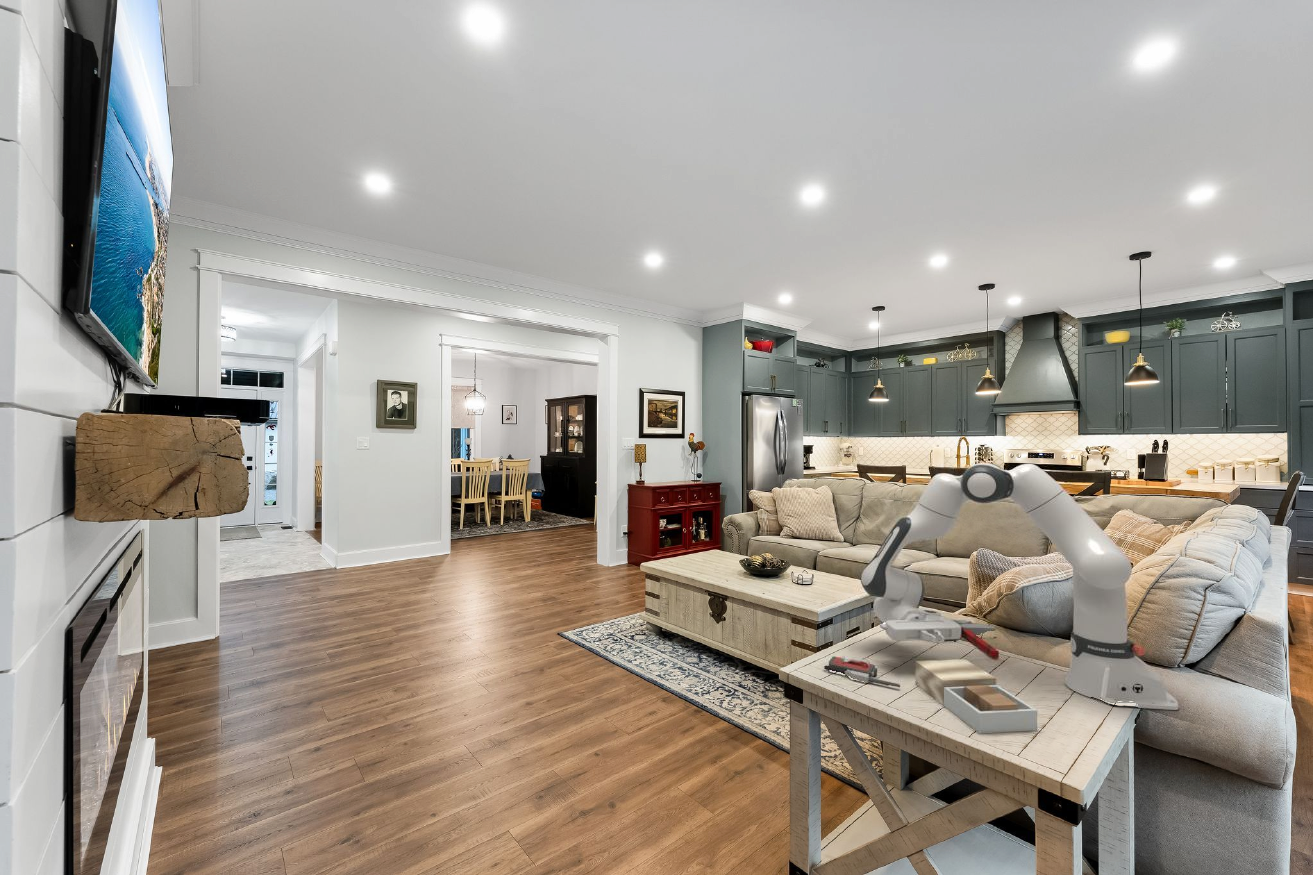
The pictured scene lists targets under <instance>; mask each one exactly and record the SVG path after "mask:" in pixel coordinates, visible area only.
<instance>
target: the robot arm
mask: <svg viewBox="0 0 1313 875" xmlns="http://www.w3.org/2000/svg"><path fill="white" fill-rule="evenodd" d="M1008 498H1009V499H1011V500H1013V501H1014V502H1015V503H1016V504H1017V505H1018V506H1019V507H1020V508H1021V509H1022V511H1023V512H1024V513H1025V514H1026V515H1027V516H1028V517H1029V518H1030V519H1031V521H1032V522H1034V524H1035V525H1036V526H1037V527H1038V528H1039V529H1040V531H1041V532H1042V533H1043V534H1044V535H1045V537H1046V538H1048V539H1049V541H1050V542H1051V543H1052V544H1053V545H1054V547H1055V548H1056V549H1057V550H1058V552H1059V553H1060V554H1061V555H1062V556H1063V558H1064V559H1065V560H1066V561H1067V562H1068V564H1070V566H1071V567H1072V586H1073V588H1072V591H1073V594H1072V595H1073V626H1072V627H1073V628H1072V631H1071V632H1070V633H1071V634H1070V636H1071V637H1070V652H1071V658H1070V666H1069V669H1068V673H1067V676H1066V678H1065V680H1064V683H1065V685H1066V686H1067V688H1069V689H1071V690H1072V691H1075V693H1078V694H1080V695H1083V696H1086V697H1088V698H1091V697H1095V698H1097V699H1102V700H1104V701H1107V702H1110V703H1136V704H1138V708H1139V709H1150V710H1151V709H1152V710H1153V709H1154V710H1170V711H1177V710H1179V708H1180V706H1179V702H1178V701H1177V699H1176V698H1175V697H1174V696H1173V695H1172V694H1171V693H1169V692H1168V691H1167V689H1166V685H1165V682H1164V680H1163V678H1162V676H1161V675H1160V674H1159V673H1158V672H1157V671H1156V670H1154V669H1153V667H1151V666H1150V665H1148V663H1146V662H1144V661H1143V660H1142V659H1140V657H1138V656H1144V654H1145V653H1146V651H1145V649H1144V648H1143V647H1142V646H1140V645H1139V644H1135V643H1134V642H1132V641H1131V640H1129V639H1128V604H1127V596H1126V595H1127V593H1126V592H1127V591H1126V583H1127V582H1129V580H1130V578H1131V576H1132V570H1133V567H1132V563H1131V561H1130V559H1129V558H1128V556H1127V554H1125V553H1124V551H1123V550H1122V549H1121V548H1120V547H1119V546H1118V545H1117V544H1116V543H1115V542H1114V541H1113V540H1112V539H1111V537H1109V536H1108V535H1107V533H1106V532H1104V530H1103V529H1102V528H1101V527H1100V526H1099V525H1098V524H1097V523H1096V521H1094V519H1093V518H1092V517H1091V516H1090V515H1089V514H1088V513H1087V512H1086V511H1085V510H1084V508H1082V507H1081V506H1080V504H1079V503H1077V501H1075V499H1074V498H1073V497H1072V496H1071V495H1070V494H1069V493H1068V492H1067V491H1066V489H1064V487H1062V486H1061V485H1060V483H1058V482H1057V481H1056V480H1055V479H1054V478H1053V477H1052V476H1050V475H1049V474H1048V472H1045V471H1044V470H1043V469H1042V468H1040V467H1039V466H1038V465H1036V464H1033V463H1023V464H1020V465H1017V466H1016V467H1014V468H1012V469H1010V470H1005V469H1003V468H1002V467H1000V466H999V465H997V464H996V463H991V462H978V463H975V464H973V465H971V466H969V467H968V468H966V470H965V471H963V473H961V474H960V475H953V474H951V473H944V472H943V473H936V474H935V475H934V476H933V477H931V479H930V481H929V482H928V483H927V485H926V487H925V488H924V490H923V492H922V493H921V495H920V498H919V499H918V502H917V504H916V506H915V507H914V509H913V510H912V511H911V512H910V513H909V514H908V515H907V516H905V517H901V518H900V519H899V520H898V521H897V522H896V523H895V524H894V526H893V527H892V528H891V530H890V531H889V532H888V534H887V535H886V538H885V539H884V541H883V543H882V544H881V546H880V547H879V549H878V550H877V551H876V553H875V555H874V556H873V557H872V559H871V560H870V561H869V563H867V565H866V566H864V568H863V569H862V572H861V574H860V584H861V585H862V588H863V589H864V591H865V592H866V594H868V595H869V596H871V597H876V598H875V599H874V601H873V605H872V606H873V612H874V613H875V615H876V617H877V618H878V620H880V622H882V623H879V628H881V629H882V630H884V631H885V635H887V636H888V637H889V638H890V639H891V640H893V641H896V642H908V641H910V642H911V641H926V642H931V643H932V644H944V643H945V642H944V640H945V639H958V640H960V639H962V637H961V627H960V625H959V624H957V623H956V622H954V621H952V620H953V619H951V618H948V617H946V616H943V615H942V614H941V612H939V611H934V610H927V609H923V608H922V609H921V608H920V606H921V604H922V603H923V600H924V598H925V593H926V592H925V591H926V589H925V586H924V582H923V579H922V578H921V576H920V575H919V574H918V573H917V572H916V573H915V572H912V571H910V570H909V571H908V570H905V569H901V568H900V569H899V568H897V567H893V566H892V565H893V564H894V563H895V561H896V559H897V558H898V557H899V555H900V553H901V552H902V550H903V548H904V547H905V546H907V545H908V544H911V543H914V542H919V541H925V540H936V539H940V538H942V537H944V536H946V535H947V534H948V533H950V531H951V530H952V529H953V527H954V525H955V522H956V521H957V518H958V516H959V513H960V511H961V509H962V507H963V506H964V504H965V503H966V502H969V501H970V500H971V501H973V502H975V503H979V504H990V503H993V502H994V503H995V502H997V501H1001V500H1004V499H1008ZM950 619H951V620H950ZM1097 699H1096V700H1097ZM1117 701H1122V702H1117ZM1129 701H1133V702H1129Z"/></svg>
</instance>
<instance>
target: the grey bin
mask: <svg viewBox="0 0 1313 875" xmlns="http://www.w3.org/2000/svg"><path fill="white" fill-rule="evenodd" d="M988 686H990V687H991V688H993V689H995V690H996V691H998V692H999V693H1001V694H1002V695H1004V696H1005V697H1007V698H1009V699H1010V700H1012V701H1013V702H1015V703H1016V704H1018V710H999V711H979V710H978V709H976V708H975V707H974V706H972V705H971V704H969V703H968V702H967V701H965V700H964V686H961V687H944V705H943V706H944V707H945V708H946V709H948V710H949V711H950V712H951V713H952V714H954V715H955V716H956V717H957V718H959V719H960V720H961V721H962V722H964V723H965V724H966V725H968V726H969V727H970V728H971V729H973V730H974V731H976V732H977V734H994V733H1013V732H1015V733H1016V732H1030V731H1038V709H1036V708H1034V707H1033V706H1031V705H1029V704H1028V703H1026V702H1025V701H1023V699H1020V698H1019V697H1017V696H1016V695H1014V694H1013V693H1010V692H1009V691H1007V690H1006V689H1004V688H1003V687H1001V686H999V684H996V685H988Z"/></svg>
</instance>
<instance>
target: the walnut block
mask: <svg viewBox="0 0 1313 875" xmlns="http://www.w3.org/2000/svg"><path fill="white" fill-rule="evenodd" d="M964 700H965V701H967V702H968V703H969V704H971V705H972V706H974V707H975V708H976V709H978V710H979V711H999V710H1018V704H1016V703H1015V702H1013V701H1012V700H1010V699H1009V698H1007V697H1005V696H1004V695H1002V694H1001V693H999V692H998V691H996V690H995V689H993V688H991V687H990V686H988V685H976V686H964Z"/></svg>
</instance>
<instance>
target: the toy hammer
mask: <svg viewBox="0 0 1313 875" xmlns="http://www.w3.org/2000/svg"><path fill="white" fill-rule="evenodd" d="M949 619H950V620H952V621H954V622H956V623H957V624H959V625H960V627H961V638H965V639H967V640H968V641H969V642H970V643H972V644H973V645H975V646H976V647H977V648H979V649H980V650H981V651H982V652H984V653H985V654H987V655H988V656H990V658H994V659H999V658H1000V651H999V650H997V649H996V648H995V647H993V646H992V645H990V644H989V643H988V642H986V641H985V640H983V638H979V637H978V636H976V635H980V634H981V633H985V632H987V631H995V630H996V631H997V627H995V626H993V625H992V626H990V625H991V624H990V625H984V624H980V623H972V622H971V621H966V620H967V619H951V618H949ZM958 640H959V639H945V640H944V643H947V642H946V641H954V642H953V643H956V642H957V641H958Z"/></svg>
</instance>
